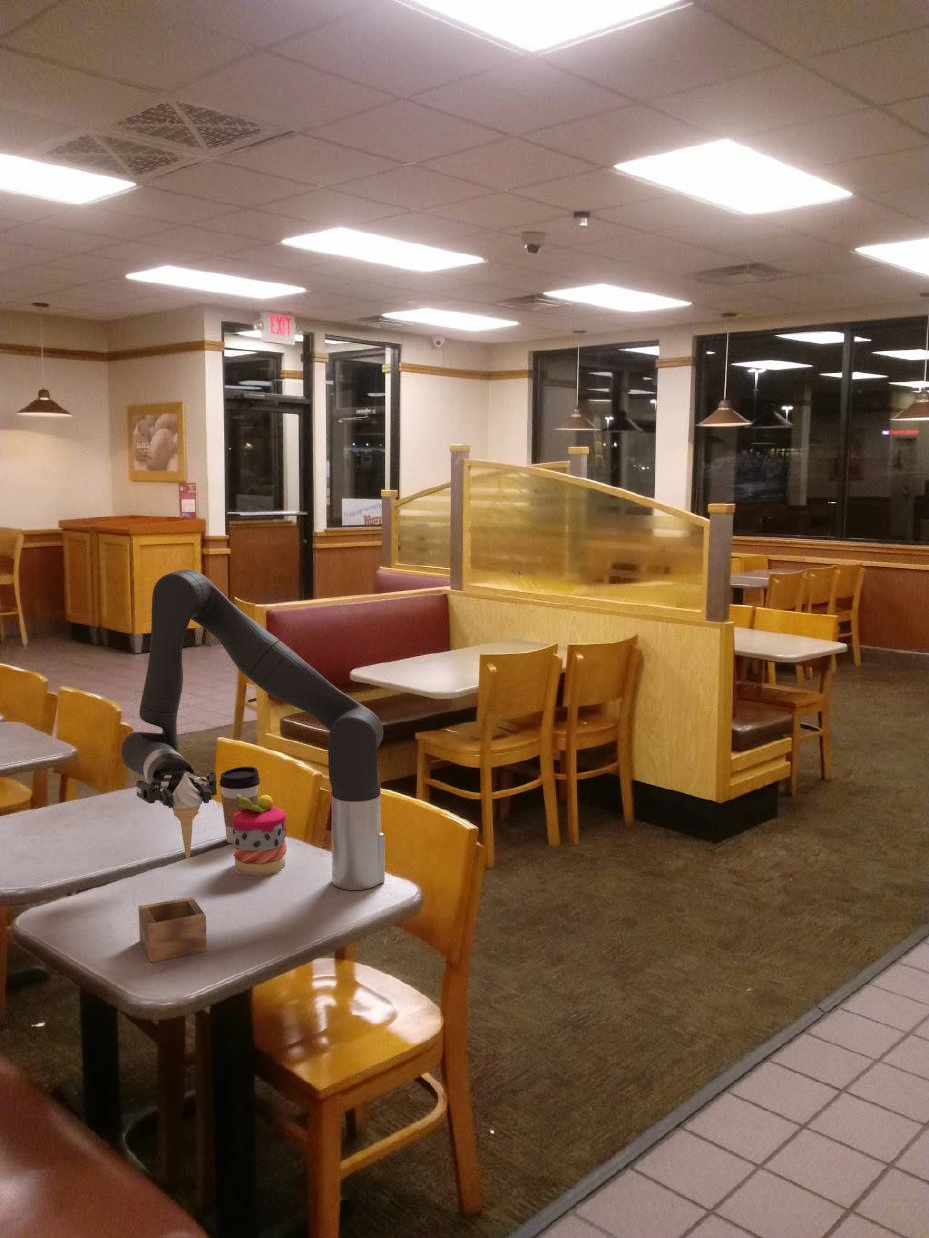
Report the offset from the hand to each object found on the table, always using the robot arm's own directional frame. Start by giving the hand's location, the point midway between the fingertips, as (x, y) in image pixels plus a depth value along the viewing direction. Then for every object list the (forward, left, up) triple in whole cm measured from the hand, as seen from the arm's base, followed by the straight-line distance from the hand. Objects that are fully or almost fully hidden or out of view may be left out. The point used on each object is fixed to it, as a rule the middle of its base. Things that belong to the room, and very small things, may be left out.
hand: (189, 799), depth 172 cm
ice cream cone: (0, -3, -11) cm, 11 cm away
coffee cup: (-21, -43, -24) cm, 53 cm away
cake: (-20, -26, -24) cm, 40 cm away
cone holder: (+4, +2, -24) cm, 24 cm away
